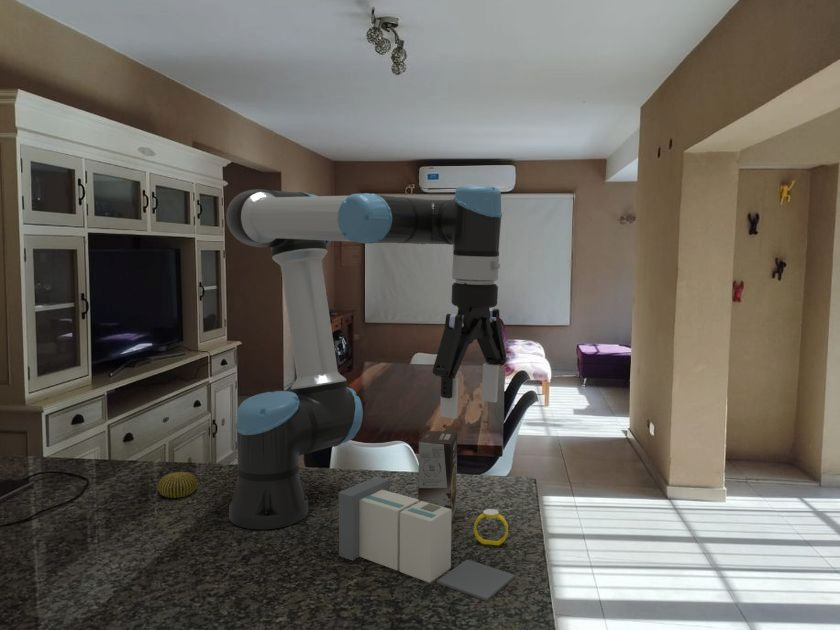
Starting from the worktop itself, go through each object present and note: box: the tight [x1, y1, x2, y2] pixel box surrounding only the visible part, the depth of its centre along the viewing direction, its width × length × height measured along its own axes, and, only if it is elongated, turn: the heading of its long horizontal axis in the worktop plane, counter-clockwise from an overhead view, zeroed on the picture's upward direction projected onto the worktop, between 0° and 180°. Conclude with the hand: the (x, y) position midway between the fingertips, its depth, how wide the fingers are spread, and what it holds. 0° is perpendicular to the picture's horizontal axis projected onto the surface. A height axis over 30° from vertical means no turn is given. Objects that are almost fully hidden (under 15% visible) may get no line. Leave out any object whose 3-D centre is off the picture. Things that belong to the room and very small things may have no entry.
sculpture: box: [157, 471, 199, 499], centre depth 141 cm, size 8×4×8 cm
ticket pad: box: [337, 475, 419, 571], centre depth 113 cm, size 12×10×11 cm
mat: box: [436, 559, 516, 602], centre depth 105 cm, size 9×9×1 cm
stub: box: [399, 501, 452, 583], centre depth 108 cm, size 6×6×10 cm
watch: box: [473, 508, 509, 546], centre depth 118 cm, size 6×3×6 cm, turn 80°
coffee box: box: [417, 430, 458, 522], centre depth 129 cm, size 9×6×16 cm
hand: (470, 408), depth 111 cm, fingers open, 13 cm apart
